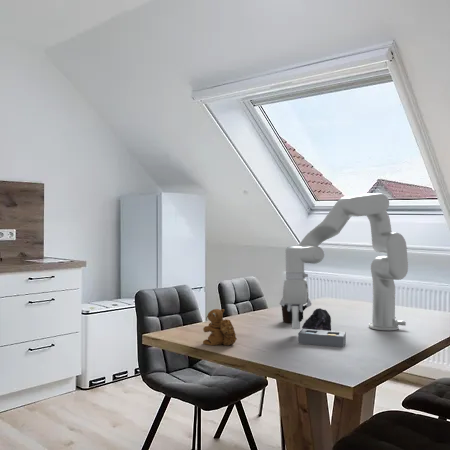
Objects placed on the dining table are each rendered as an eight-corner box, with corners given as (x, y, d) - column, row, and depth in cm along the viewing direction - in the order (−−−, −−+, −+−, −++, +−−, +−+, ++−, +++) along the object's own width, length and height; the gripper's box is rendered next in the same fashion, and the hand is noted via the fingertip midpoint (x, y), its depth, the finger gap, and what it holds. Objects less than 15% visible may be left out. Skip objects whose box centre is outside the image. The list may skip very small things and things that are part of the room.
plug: (300, 327, 226) (300, 301, 226) (299, 329, 223) (298, 302, 223) (292, 327, 228) (292, 301, 227) (291, 329, 224) (290, 302, 224)
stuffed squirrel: (215, 339, 218) (215, 306, 217) (243, 344, 209) (244, 310, 209) (198, 343, 210) (198, 309, 210) (227, 349, 201) (227, 313, 201)
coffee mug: (293, 324, 247) (293, 302, 247) (277, 322, 252) (277, 300, 252) (305, 320, 256) (306, 299, 256) (289, 318, 261) (290, 297, 261)
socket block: (345, 342, 213) (345, 331, 213) (343, 347, 205) (343, 336, 205) (302, 338, 219) (302, 328, 219) (298, 343, 211) (298, 332, 211)
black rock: (308, 336, 226) (311, 313, 226) (295, 327, 239) (298, 304, 239) (337, 337, 230) (340, 314, 229) (323, 328, 243) (326, 306, 242)
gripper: (316, 275, 226) (317, 320, 226) (277, 274, 231) (278, 318, 232) (313, 278, 219) (314, 323, 219) (273, 277, 224) (274, 321, 224)
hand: (295, 320), depth 225 cm, fingers closed on plug, 3 cm apart
